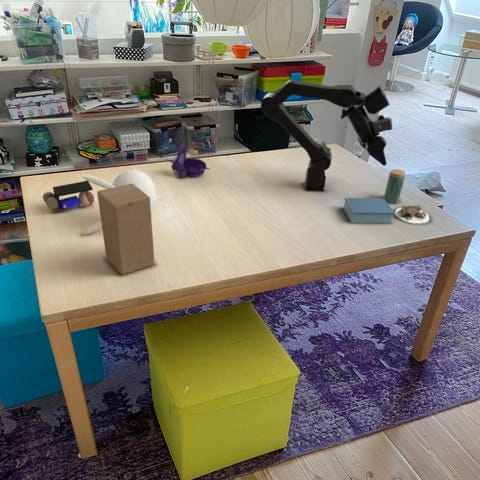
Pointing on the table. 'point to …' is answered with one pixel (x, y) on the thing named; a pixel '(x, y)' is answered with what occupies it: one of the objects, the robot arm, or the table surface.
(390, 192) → the canister
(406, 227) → the table surface
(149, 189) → the stuffed toy
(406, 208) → the frog figurine
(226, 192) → the table surface
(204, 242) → the table surface
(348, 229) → the table surface
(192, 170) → the creature
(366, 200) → the slate blue base plate
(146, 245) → the wooden block
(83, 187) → the toy car
